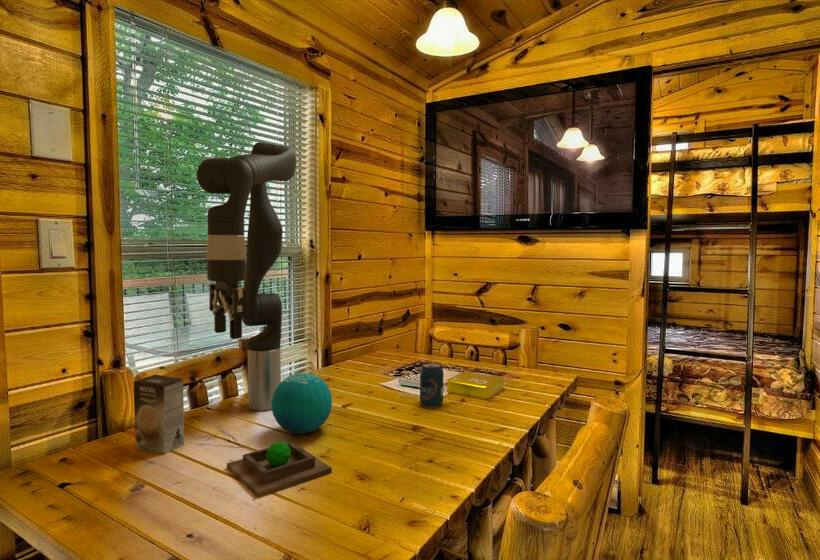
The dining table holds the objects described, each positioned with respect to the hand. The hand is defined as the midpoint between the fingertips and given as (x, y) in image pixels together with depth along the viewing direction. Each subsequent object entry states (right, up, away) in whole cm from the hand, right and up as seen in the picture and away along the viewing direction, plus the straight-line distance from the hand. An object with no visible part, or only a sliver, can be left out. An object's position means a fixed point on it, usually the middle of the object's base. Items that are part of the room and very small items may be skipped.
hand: (227, 335), depth 101 cm
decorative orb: (+11, -27, +22) cm, 37 cm away
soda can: (+44, -26, +44) cm, 68 cm away
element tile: (+60, -25, +59) cm, 88 cm away
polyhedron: (+10, -28, +1) cm, 30 cm away
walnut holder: (+10, -29, +1) cm, 30 cm away
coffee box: (-21, -28, +13) cm, 37 cm away
